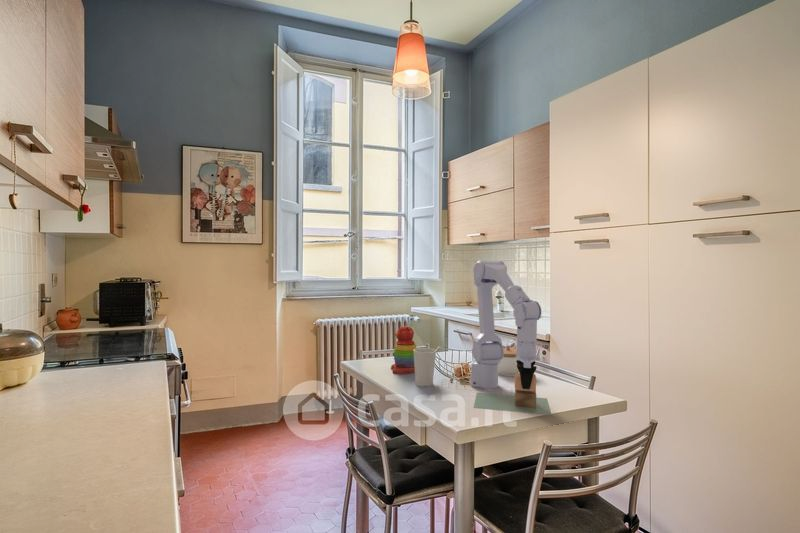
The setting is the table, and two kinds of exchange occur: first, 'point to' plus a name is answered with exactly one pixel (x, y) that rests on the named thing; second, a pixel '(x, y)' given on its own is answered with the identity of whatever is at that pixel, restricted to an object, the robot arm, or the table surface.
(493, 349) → the robot arm
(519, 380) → the terracotta brick
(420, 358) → the cup
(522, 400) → the walnut base brick
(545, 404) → the baseplate
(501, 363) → the lidded bowl
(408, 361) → the stacking bear
